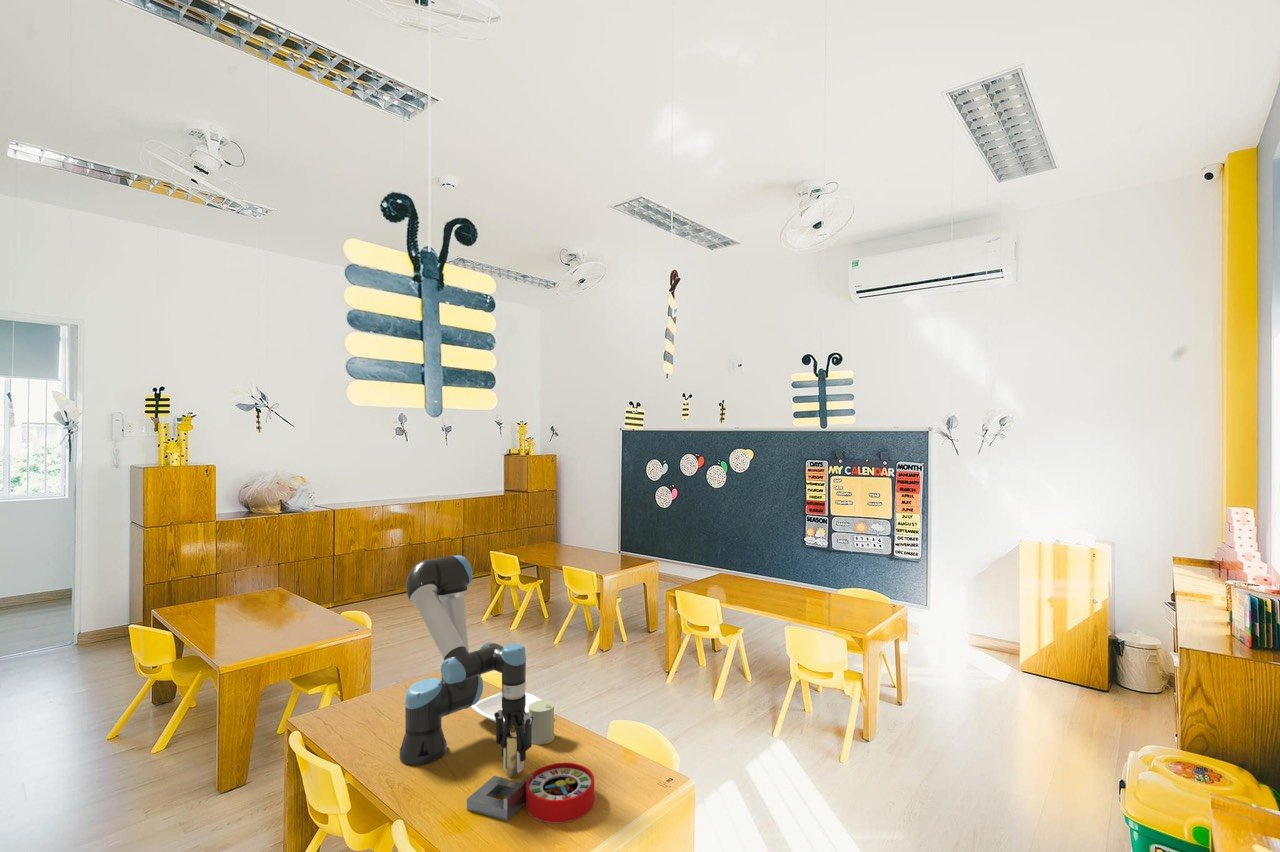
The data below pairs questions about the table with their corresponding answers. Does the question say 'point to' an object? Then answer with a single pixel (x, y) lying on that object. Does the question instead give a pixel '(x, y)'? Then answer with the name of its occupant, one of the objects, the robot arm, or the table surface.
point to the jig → (497, 808)
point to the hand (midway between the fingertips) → (513, 768)
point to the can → (542, 721)
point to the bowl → (498, 705)
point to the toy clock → (560, 792)
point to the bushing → (512, 756)
